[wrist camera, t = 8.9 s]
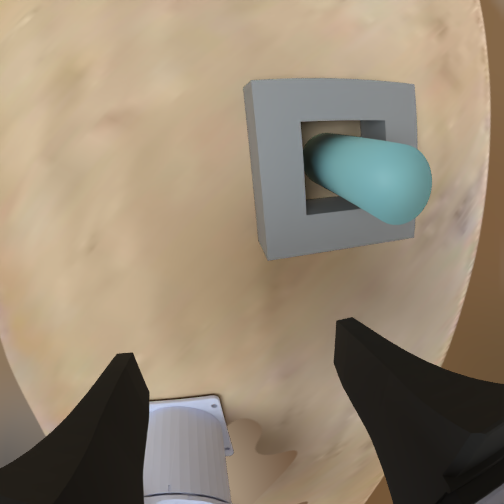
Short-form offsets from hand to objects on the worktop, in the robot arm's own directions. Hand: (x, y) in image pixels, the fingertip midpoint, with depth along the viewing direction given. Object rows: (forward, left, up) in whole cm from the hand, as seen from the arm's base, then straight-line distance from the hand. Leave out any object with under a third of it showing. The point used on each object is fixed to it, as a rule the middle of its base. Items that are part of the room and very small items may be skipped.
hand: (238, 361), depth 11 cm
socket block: (+5, -7, -10) cm, 13 cm away
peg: (+5, -7, -10) cm, 13 cm away
